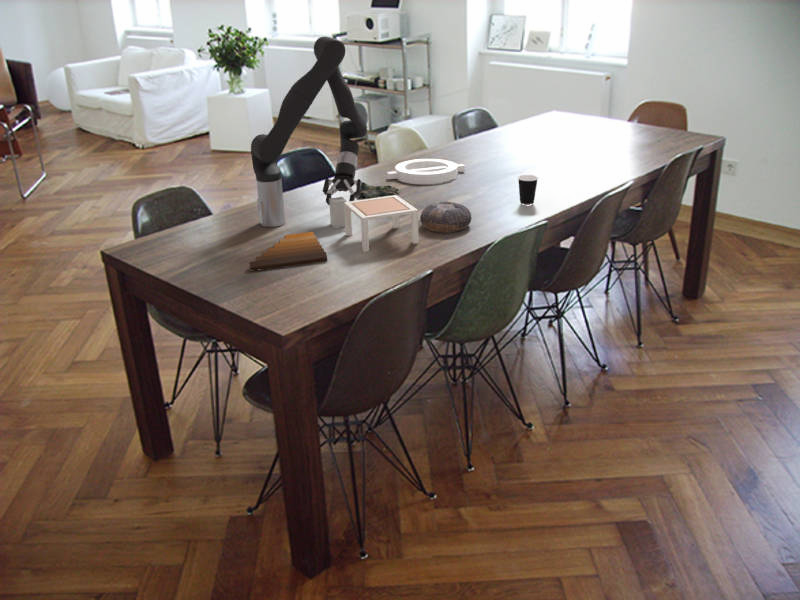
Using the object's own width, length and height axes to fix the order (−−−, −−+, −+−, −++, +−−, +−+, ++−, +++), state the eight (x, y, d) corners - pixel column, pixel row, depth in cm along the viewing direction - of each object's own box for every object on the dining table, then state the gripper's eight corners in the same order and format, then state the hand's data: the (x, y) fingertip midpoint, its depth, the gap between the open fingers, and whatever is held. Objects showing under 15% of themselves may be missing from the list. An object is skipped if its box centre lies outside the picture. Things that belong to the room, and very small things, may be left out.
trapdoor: (367, 218, 261) (367, 215, 261) (353, 205, 274) (352, 203, 274) (408, 212, 266) (408, 209, 266) (392, 200, 279) (392, 197, 279)
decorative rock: (384, 177, 335) (408, 181, 324) (385, 192, 337) (408, 196, 326) (350, 183, 323) (373, 188, 312) (350, 198, 325) (373, 203, 314)
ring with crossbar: (467, 172, 356) (467, 162, 354) (441, 187, 333) (441, 177, 331) (412, 166, 368) (412, 156, 366) (384, 181, 345) (384, 170, 343)
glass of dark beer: (541, 205, 306) (542, 177, 301) (526, 208, 302) (527, 181, 297) (527, 200, 312) (528, 173, 307) (512, 204, 308) (513, 177, 303)
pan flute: (251, 273, 250) (327, 263, 256) (250, 263, 248) (326, 253, 255) (242, 248, 271) (312, 239, 278) (241, 239, 270) (311, 230, 277)
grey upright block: (334, 228, 287) (333, 202, 283) (330, 224, 291) (329, 198, 287) (347, 226, 289) (346, 200, 284) (343, 222, 293) (341, 196, 289)
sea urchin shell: (482, 224, 285) (480, 199, 280) (448, 245, 275) (445, 220, 270) (445, 212, 297) (442, 189, 292) (411, 233, 287) (407, 208, 282)
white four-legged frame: (364, 251, 263) (362, 218, 258) (345, 234, 280) (343, 202, 275) (418, 243, 270) (417, 209, 265) (397, 226, 287) (396, 194, 282)
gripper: (325, 160, 292) (318, 199, 286) (362, 161, 289) (355, 200, 283) (331, 171, 299) (323, 208, 293) (366, 172, 296) (360, 210, 290)
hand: (339, 204), depth 288 cm, fingers open, 8 cm apart
